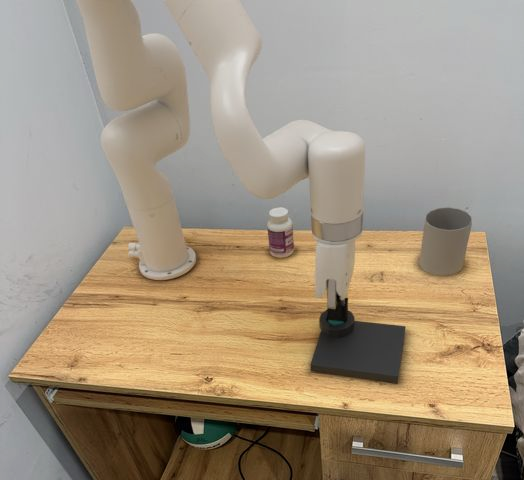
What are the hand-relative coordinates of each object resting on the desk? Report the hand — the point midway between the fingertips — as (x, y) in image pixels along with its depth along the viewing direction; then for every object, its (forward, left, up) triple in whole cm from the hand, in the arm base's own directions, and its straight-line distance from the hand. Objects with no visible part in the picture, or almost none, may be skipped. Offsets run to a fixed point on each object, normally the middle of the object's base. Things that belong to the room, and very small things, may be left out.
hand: (337, 317), depth 86 cm
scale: (+4, -4, -4) cm, 7 cm away
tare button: (0, 0, -2) cm, 2 cm away
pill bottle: (-17, +24, -4) cm, 30 cm away
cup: (+16, +24, -4) cm, 29 cm away
